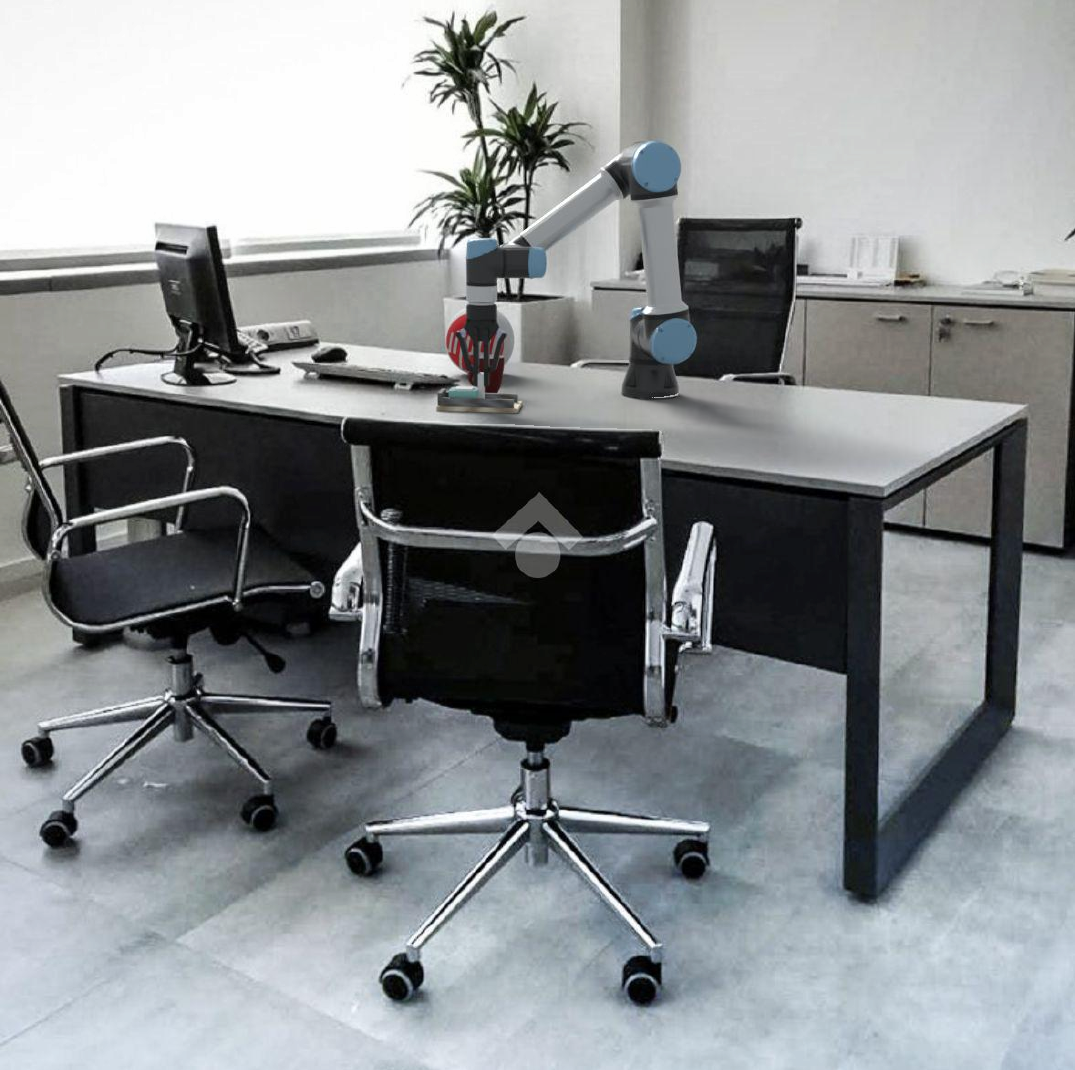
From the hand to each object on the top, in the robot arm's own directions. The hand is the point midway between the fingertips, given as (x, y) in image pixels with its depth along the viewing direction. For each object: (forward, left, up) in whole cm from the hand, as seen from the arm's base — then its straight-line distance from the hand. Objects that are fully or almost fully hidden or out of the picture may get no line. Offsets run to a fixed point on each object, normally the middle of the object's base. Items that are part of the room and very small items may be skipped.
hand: (481, 399), depth 327 cm
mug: (+1, -19, -2) cm, 19 cm away
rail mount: (0, 0, -2) cm, 2 cm away
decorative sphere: (+7, -52, -2) cm, 53 cm away
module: (+4, 0, -1) cm, 4 cm away
